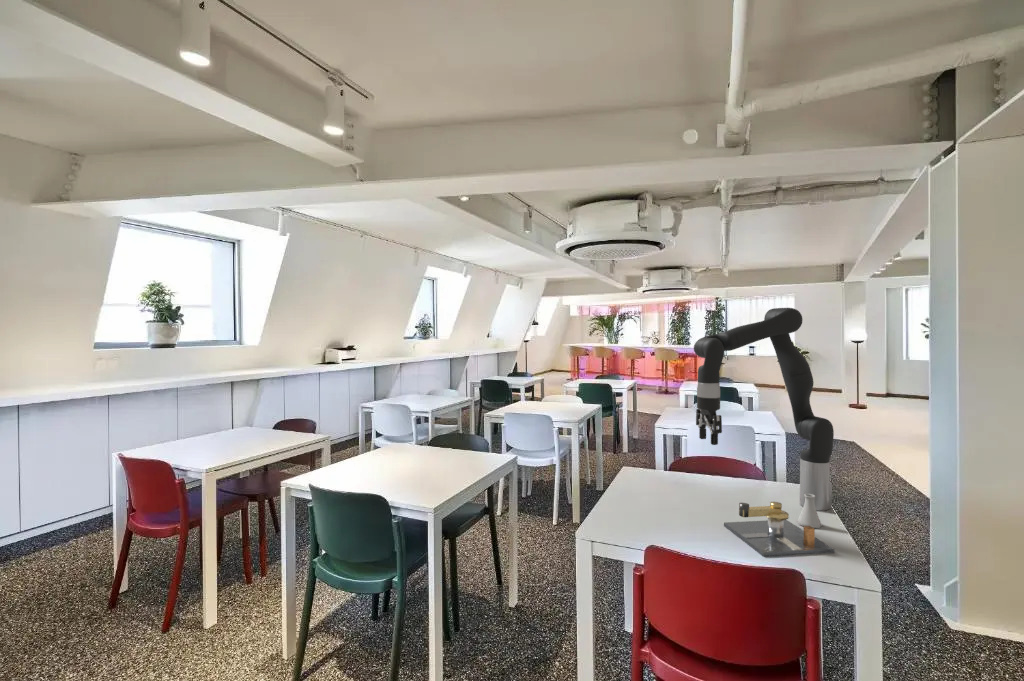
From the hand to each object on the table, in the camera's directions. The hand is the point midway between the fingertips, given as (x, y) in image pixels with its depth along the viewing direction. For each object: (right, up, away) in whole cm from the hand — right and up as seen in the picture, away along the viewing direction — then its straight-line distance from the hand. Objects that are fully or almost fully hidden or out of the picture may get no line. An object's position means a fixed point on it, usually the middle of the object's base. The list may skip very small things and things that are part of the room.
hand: (708, 441), depth 174 cm
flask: (+31, -27, -6) cm, 42 cm away
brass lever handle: (+10, -20, -18) cm, 28 cm away
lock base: (+14, -27, -17) cm, 35 cm away
